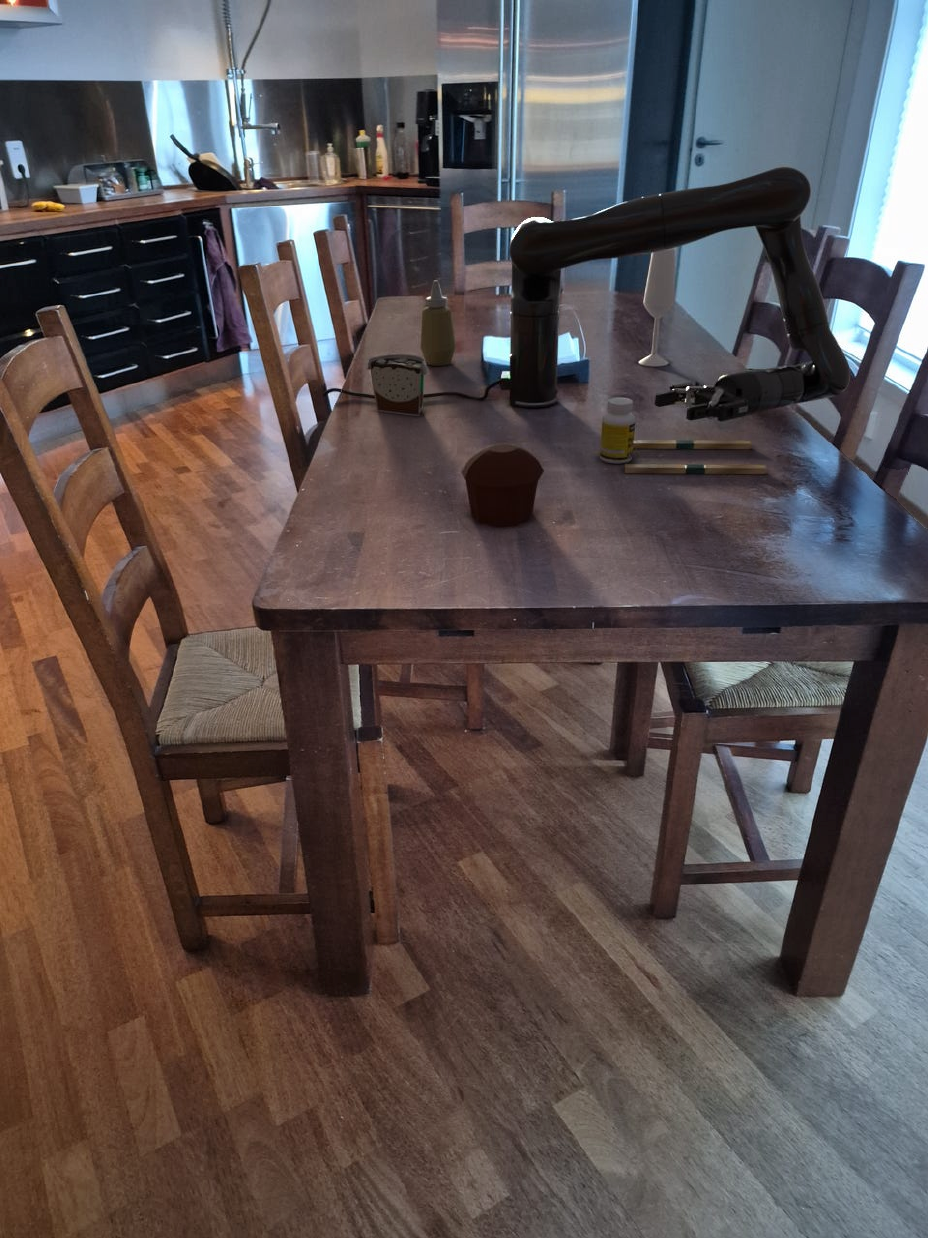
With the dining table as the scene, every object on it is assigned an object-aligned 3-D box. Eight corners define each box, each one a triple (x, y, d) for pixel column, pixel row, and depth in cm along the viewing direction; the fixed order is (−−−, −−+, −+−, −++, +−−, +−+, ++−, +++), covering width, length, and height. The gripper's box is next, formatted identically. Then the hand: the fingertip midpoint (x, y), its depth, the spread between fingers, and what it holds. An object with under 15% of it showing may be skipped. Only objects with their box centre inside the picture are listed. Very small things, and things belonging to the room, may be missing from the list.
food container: (440, 408, 170) (438, 356, 165) (426, 417, 165) (423, 364, 160) (385, 401, 175) (382, 351, 169) (370, 410, 170) (366, 358, 165)
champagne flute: (656, 367, 192) (666, 251, 179) (632, 362, 196) (641, 248, 184) (674, 362, 195) (686, 247, 183) (650, 357, 200) (660, 245, 188)
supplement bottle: (631, 465, 141) (636, 406, 136) (598, 463, 142) (601, 405, 137) (632, 454, 146) (637, 396, 140) (600, 452, 146) (604, 395, 141)
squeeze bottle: (461, 359, 202) (459, 278, 192) (449, 368, 195) (446, 284, 186) (428, 357, 204) (425, 276, 195) (416, 366, 197) (411, 283, 188)
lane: (625, 473, 138) (625, 467, 138) (618, 445, 149) (619, 440, 149) (765, 474, 136) (766, 468, 136) (748, 446, 148) (749, 440, 147)
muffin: (481, 536, 119) (480, 467, 114) (450, 507, 128) (448, 442, 123) (556, 520, 123) (559, 453, 118) (521, 493, 132) (522, 430, 127)
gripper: (723, 361, 153) (648, 374, 147) (781, 380, 142) (702, 395, 136) (718, 403, 157) (644, 417, 151) (773, 425, 146) (696, 441, 140)
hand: (671, 407), depth 144 cm, fingers open, 8 cm apart
